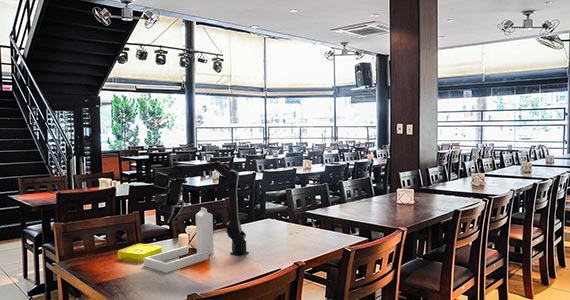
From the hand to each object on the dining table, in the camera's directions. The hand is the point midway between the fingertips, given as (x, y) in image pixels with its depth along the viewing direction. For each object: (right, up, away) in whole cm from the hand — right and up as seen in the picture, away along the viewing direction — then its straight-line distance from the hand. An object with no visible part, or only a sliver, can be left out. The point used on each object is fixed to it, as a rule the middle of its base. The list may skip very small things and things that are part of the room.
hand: (168, 222), depth 209 cm
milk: (+17, -15, +1) cm, 23 cm away
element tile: (-13, -16, -2) cm, 21 cm away
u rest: (+7, -16, -11) cm, 21 cm away
